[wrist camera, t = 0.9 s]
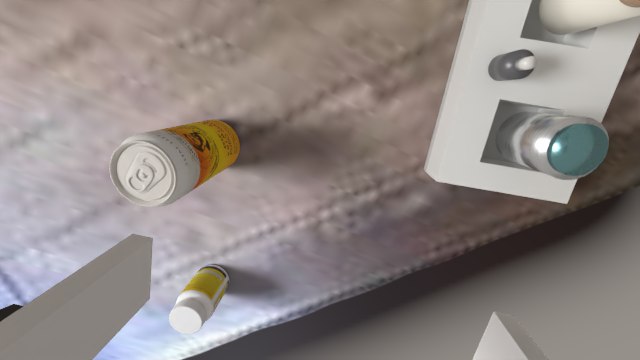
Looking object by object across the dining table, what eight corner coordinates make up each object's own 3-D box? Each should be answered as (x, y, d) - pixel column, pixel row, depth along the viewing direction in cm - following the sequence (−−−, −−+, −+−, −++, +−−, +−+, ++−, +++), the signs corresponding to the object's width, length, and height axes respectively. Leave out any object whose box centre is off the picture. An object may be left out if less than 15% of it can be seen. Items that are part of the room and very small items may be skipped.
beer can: (251, 143, 37) (196, 173, 23) (222, 176, 39) (152, 225, 24) (213, 108, 36) (131, 117, 22) (185, 144, 38) (90, 175, 23)
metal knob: (505, 107, 29) (559, 111, 22) (555, 116, 29) (627, 123, 22) (488, 156, 31) (535, 176, 23) (537, 165, 31) (599, 187, 23)
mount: (485, -59, 30) (512, -88, 25) (624, -37, 30) (679, -62, 25) (423, 169, 37) (436, 181, 32) (537, 189, 37) (566, 203, 32)
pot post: (492, 52, 28) (521, 44, 24) (518, 56, 28) (551, 49, 24) (484, 78, 29) (511, 75, 24) (509, 82, 29) (540, 80, 24)
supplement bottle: (193, 266, 43) (159, 306, 35) (224, 260, 42) (197, 300, 34) (204, 294, 44) (173, 339, 36) (234, 289, 43) (210, 334, 35)
